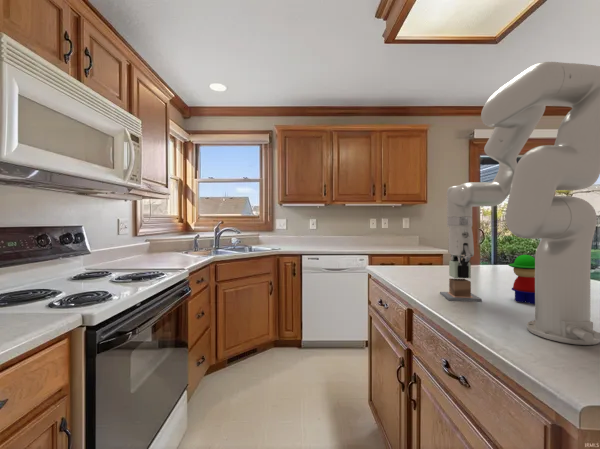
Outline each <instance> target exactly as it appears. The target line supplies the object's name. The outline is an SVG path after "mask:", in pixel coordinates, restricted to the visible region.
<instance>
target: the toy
mask: <svg viewBox="0 0 600 449" xmlns="http://www.w3.org/2000/svg"><path fill="white" fill-rule="evenodd" d="M508 266H509V267H511V268H513V269H512V271H513V273H514V274H515V275H516V278H515V280H514V282H513V285H512V287H511V290H512V291H514V301H515V302H517V303H526V304H531V305H535V256H534V257H533V256H532V255H529V254H521V255H518V256H517V257H516V258H515V260H514V262H513V263H509V264H508Z"/></svg>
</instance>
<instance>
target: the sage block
mask: <svg viewBox="0 0 600 449" xmlns="http://www.w3.org/2000/svg"><path fill="white" fill-rule="evenodd" d="M448 263H449V264H448V266H449V267H448V272H449V273H448V274H449V275H448V276H450V277H452V279H460V278H459V277H458V265H459V261H451V260H448ZM471 267H472V265H471V262H469V277H468V278H467V279H471V278H472V275H471V274H472V273H471V271H472V270H471V269H472V268H471Z"/></svg>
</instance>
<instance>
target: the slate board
mask: <svg viewBox="0 0 600 449" xmlns="http://www.w3.org/2000/svg"><path fill="white" fill-rule="evenodd" d="M439 294H440V295H441V296H442V297H443V298H445V299H446V300H447V301H448V302H483V299H482V298H481V297H479V296H478V295H475V294H474V293H472V292H471V297H460V296H453V295H452V294H450V293H449V291H440V292H439Z"/></svg>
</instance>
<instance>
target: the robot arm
mask: <svg viewBox="0 0 600 449" xmlns="http://www.w3.org/2000/svg"><path fill="white" fill-rule="evenodd" d="M546 106H548V107H549V106H550V107H568V108H571V109H570V110H569V111H568V112H567V114H566V115H565V116H564V118H563V119H562V120H561V122H560V124H559V127H558V128H557V134H556V139H555V141H554V145H552V144H547V145H546V144H545V145H538V146H535V147H532V148H531V149H529V150H528V151H526V152H525V153H524V154H523V155H522V156H521V157H520V159H519V160H518V162H517V158H518V157H519V155H520V153H521V151H522V150H523V149H524V146H525V145H526V143H527V142H528V140H529V138H530V136H531V135H532V133H533V132H534V131H535V129H536V127H537V126H538V124H539V122H540V120H541V118H542V117H543V115H544V113H545V111H546ZM480 120H481V121H482V124H483V125H485V126H486V127H489V128H493V131H492V133H491V134H490V137H489V138H488V139H487V142H486V144H485V145H484V147H483V148H484V150H483V151H484V153H485V155H486V156H488V158H491V159H492V160H494V161H496V162H498V165H499V167H498V171H497V173H496V175H495V177H494V179H493V180H492V181H491V182H487V181H486V182H484V181H483V182H481V181H479V182H477V181H476V182H472V181H471V182H470V181H469V182H464V183H461V184H460V185H453V186H449V187H448V188H447V191H446V216H447V217H446V221H447V222H446V227H448V241H447V244H448V246H447V247H448V253H449V254H450V258H451V259H450V261H459V265H458V277H459V278H458V279H469V278H468V277H469V263H470V260H471V257H472V258H473V257H474V255H475V247H474V234H473V228H472V227H473V207H475V208H476V207H496V206H499V205H501V204H503V202H505V200H506V199H507V198H508V201H507V206H506V209H505V210H506V211H505V224H506V227H507V228H508V230H509V231H510V233H511V234H512V235H514V236H515V237H518V238H522V239H525V240H526V239H529V240H530V239H531V240H534V239H535V240H536V239H537V240H538V239H539V240H540V242H539V243H538V246H537V248H536V251H535V256H534V258H535V304H534V320H531V321H528V322H527V323H526V329H527V331H529V332H530V333H532V334H534V335H535V336H538V337H541V338H545V339H546V340H551V341H555V342H559V343H564V344H570V345H577V346H582V345H583V346H592V345H597V344H600V332H598V331H597V330H594V321H591V263H592V256H591V255H592V246H593V241H594V236H595V232H596V227H597V222H598V221H597V220H598V219H597V217H598V216H597V211H596V210H595V208H594V206H593V205H592V204H591V203H590V202H589V201H587V200H585V199H583V198H580V197H576V196H568V195H555V193H556V191H581V190H585V189H588V188H591V186H593V185H595V183H596V182H597V181H598V179H599V177H600V66H599V65H595V64H594V65H593V64H585V63H573V62H561V61H559V62H558V61H543V62H539V63H536V64H534V65H531V66H530V67H528V68H527V69H525V70H523V71H522V72H521V73H519V74H517V75H516V76H515V77H514V78H512V79H511V80H510V81H508V82H507V83H505V84H504V85H502V86H501V87H499V89H498V90H496V91H495V92H494V93H492V95H491V96H490V97H489V98H487V100H486V101H485V104H484V106H483V107H482V109H481V114H480Z"/></svg>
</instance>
